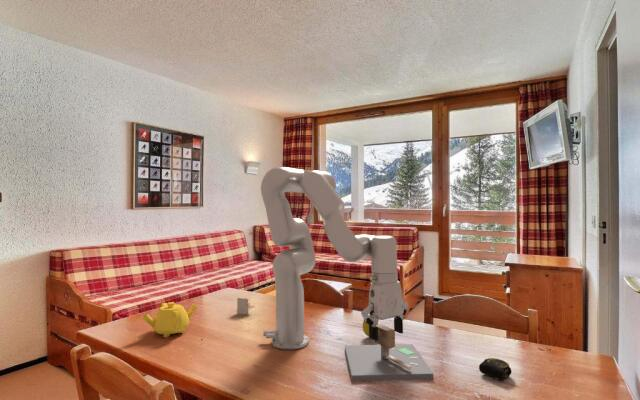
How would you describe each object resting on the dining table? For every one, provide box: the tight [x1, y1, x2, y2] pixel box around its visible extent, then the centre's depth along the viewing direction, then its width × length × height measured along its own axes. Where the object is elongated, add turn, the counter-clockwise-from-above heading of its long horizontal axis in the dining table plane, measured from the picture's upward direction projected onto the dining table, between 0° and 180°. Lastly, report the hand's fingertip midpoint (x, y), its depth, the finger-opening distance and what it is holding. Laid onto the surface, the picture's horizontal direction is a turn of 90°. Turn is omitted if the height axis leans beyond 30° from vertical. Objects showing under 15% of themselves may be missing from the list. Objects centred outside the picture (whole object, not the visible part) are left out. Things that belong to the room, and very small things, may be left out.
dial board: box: [344, 343, 435, 382], centre depth 106 cm, size 22×20×2 cm
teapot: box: [141, 301, 198, 338], centre depth 133 cm, size 20×18×11 cm
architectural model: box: [236, 297, 255, 316], centre depth 155 cm, size 3×7×7 cm, turn 66°
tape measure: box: [478, 357, 512, 382], centre depth 98 cm, size 7×7×4 cm
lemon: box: [362, 314, 379, 337], centre depth 126 cm, size 6×6×8 cm
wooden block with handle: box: [374, 323, 411, 370], centre depth 103 cm, size 13×2×9 cm, turn 31°
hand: (386, 335), depth 106 cm, fingers open, 9 cm apart
